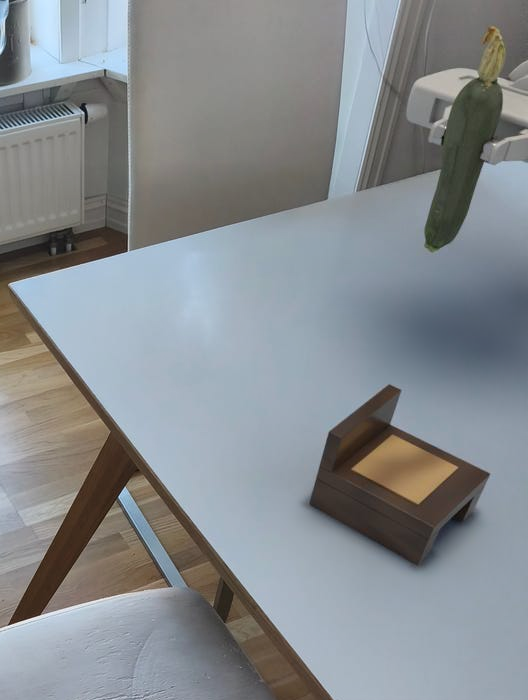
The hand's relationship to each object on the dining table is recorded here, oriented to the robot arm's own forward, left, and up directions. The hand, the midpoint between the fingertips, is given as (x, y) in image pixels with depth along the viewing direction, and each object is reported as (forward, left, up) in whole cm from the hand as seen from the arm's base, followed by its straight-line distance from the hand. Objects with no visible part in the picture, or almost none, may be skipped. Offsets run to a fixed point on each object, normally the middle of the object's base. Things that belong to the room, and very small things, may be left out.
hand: (462, 144), depth 82 cm
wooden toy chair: (-13, +21, -24) cm, 34 cm away
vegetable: (0, -1, -11) cm, 11 cm away
